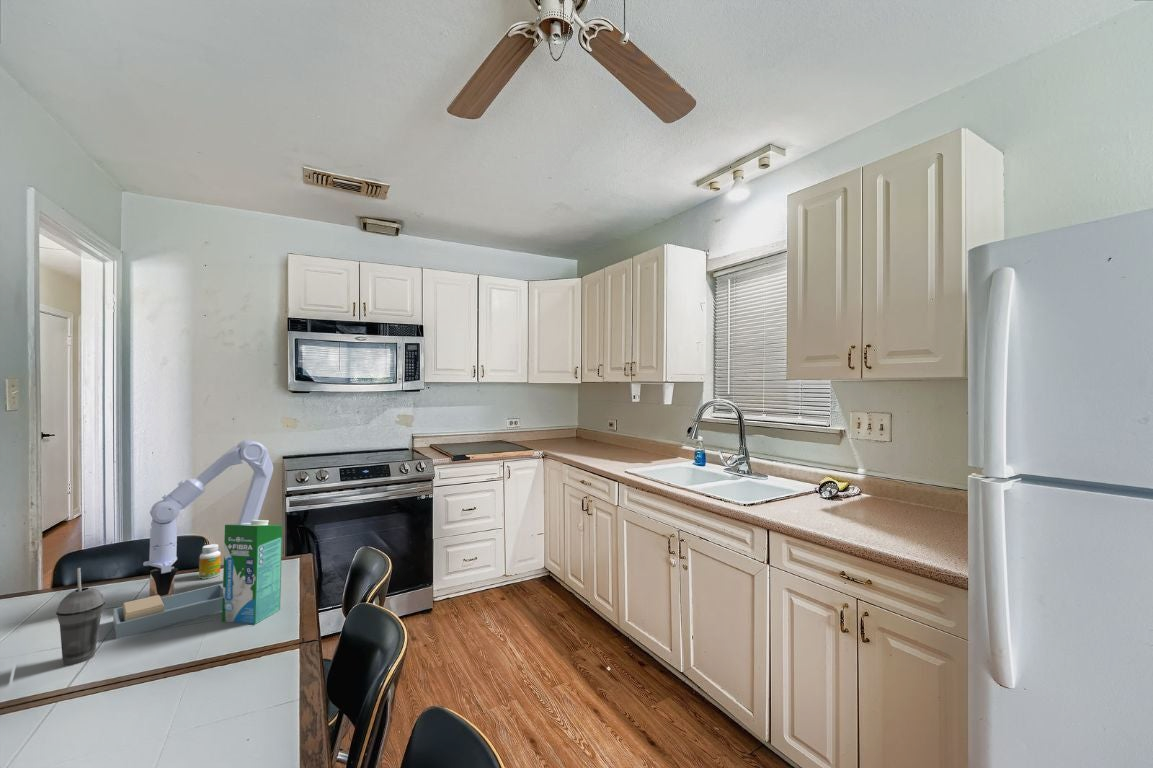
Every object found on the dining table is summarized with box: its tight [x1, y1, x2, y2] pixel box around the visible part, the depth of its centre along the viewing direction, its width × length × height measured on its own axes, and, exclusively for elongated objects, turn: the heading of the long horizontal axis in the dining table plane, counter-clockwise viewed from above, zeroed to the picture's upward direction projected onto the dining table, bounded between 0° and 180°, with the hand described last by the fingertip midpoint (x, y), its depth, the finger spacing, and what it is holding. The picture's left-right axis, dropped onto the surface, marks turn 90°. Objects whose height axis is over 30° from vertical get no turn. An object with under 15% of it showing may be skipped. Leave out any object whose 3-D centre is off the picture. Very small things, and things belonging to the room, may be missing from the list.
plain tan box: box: [122, 595, 164, 622], centre depth 117 cm, size 7×9×5 cm
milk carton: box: [221, 519, 283, 626], centre depth 122 cm, size 9×9×25 cm
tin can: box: [148, 565, 175, 598], centre depth 131 cm, size 5×5×9 cm
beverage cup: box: [55, 567, 106, 666], centre depth 101 cm, size 7×7×20 cm
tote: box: [112, 583, 223, 640], centre depth 121 cm, size 22×12×4 cm, turn 137°
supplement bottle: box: [198, 543, 222, 580], centre depth 150 cm, size 5×5×10 cm
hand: (161, 592), depth 130 cm, fingers closed on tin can, 5 cm apart
